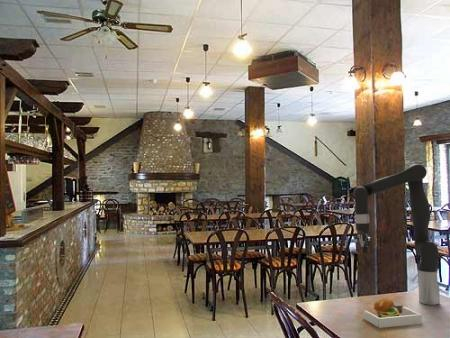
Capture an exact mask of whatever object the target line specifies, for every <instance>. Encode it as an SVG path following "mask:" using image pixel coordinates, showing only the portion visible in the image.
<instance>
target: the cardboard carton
mask: <svg viewBox="0 0 450 338" xmlns="http://www.w3.org/2000/svg"><path fill="white" fill-rule="evenodd" d="M393 303H394V305H393V307H394V308H396V309H397V310H398V312H399V313H402V307H404V305H403V304H401V303H399V302H397V301H393Z"/></svg>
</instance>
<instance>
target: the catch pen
mask: <svg viewBox="0 0 450 338" xmlns="http://www.w3.org/2000/svg"><path fill="white" fill-rule="evenodd" d="M401 313H402V315H400V316H395V317H385V318H380V317H379V316H378V315H375V314H374V313H372V312H370V311H368V310H366V309H363V319H364V320H365V321H367V322H369V323H371V324H372V325H374V326H375V327H377V328H378V329H382V328H391V327H403V326H411V325H422V324H423V315H422V314H421V313H419V312H417V311H415V310H412V309H410V308H408V307H406V306H403V307H402V312H401Z"/></svg>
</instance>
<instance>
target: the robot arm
mask: <svg viewBox="0 0 450 338" xmlns="http://www.w3.org/2000/svg"><path fill="white" fill-rule="evenodd" d="M427 172H428V171H427V168H426V167H425V166H424V165H422V164H420V163H414V164H410V165H408V167H406V169H404V170H403V171H401V172H398V173H396V174H392V175H388V176H385V177H381V178H378V179H376V180H374V181H373V180H372V181H371V182H368V183H366V184H363V185H360V186H356V187H355V188H354V189H353V191H352V195H353V196H354V203H355V205H354V214H355V216H354V220H355V221H354V223H355V231H356V232H358V233H357V235H356V240H357V242H358V244H359V246H360V247H361V249H362V250H361V252H362V254H363V255H366V254H368V247H369V246H370V244H371V241H372V236H371V237H370V233H369V231H371V224H370V216H369V215H370V214H369V206H368V204H369V203H368V201H369V200H368V198H369V196H372V195H376V194H379V193H383V192H385V191H387V190H390V189H393V188H395V187H398V186H400V185H403V184H408V189H409V202H410V204H409V205H410V211H411V212H410V213H411V217H412V218H411V220H412V226H413V234H414V251H415V253H416V254H417V255H418V256H420V263H418V264H417V279H418V280H417V281H418V282H417V285H418V286H417V287H418V302H419V303H420V304H423V305H428V306H429V305H430V306H435V305H439V304H440V303H441V299H440V298H441V295H440V285H439V284H438V267H439V248H438V246H437V243H435V242H433V241H431V240H430V238H429V225H430V221H431V209H430V204H429V203H430V202H429V201H428V198H427V194H426V193H425V189H424V182H423V180H424V179H425V177H426V176H427Z"/></svg>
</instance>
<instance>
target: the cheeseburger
mask: <svg viewBox="0 0 450 338" xmlns="http://www.w3.org/2000/svg"><path fill="white" fill-rule="evenodd" d="M393 302H394V301H393V300H392V299H390V298H387V297H386V298H383V299H379V300H376V301H375V302H374V303H373V309H374V310H375V312H376V314H377V316H378V317H379V318H385V317H395V316H401V314H400V312H398V310H397V309H396V308H394V307H393V305H394V303H393Z"/></svg>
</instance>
